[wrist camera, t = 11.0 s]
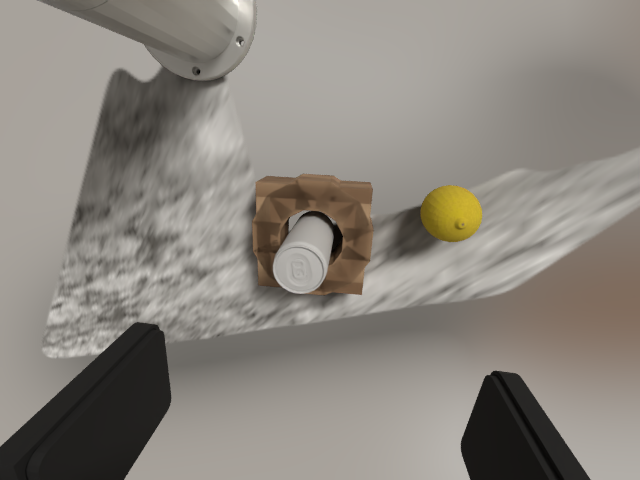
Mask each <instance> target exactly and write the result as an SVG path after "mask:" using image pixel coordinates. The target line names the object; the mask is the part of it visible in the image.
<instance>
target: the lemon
mask: <svg viewBox="0 0 640 480" xmlns="http://www.w3.org/2000/svg"><path fill="white" fill-rule="evenodd" d="M421 220H422V223H423V225H424V227H425V228H426V230H427V231H428V232H429V233H430V234H431V235H432V236H434V237H436V238H438V239H440V240H442V241H447V242H458V241H462V240H465V239H467V238H469V237H470V236H472V235H473V234H474V233H475V232H476V231H477V229H478V228H479V226H480V224H481V220H482V209H481V206H480V204H479V201H478V200H477V199H476V197H475V196H474V195H473V194H472V193H471V192H469V191H468V190H466V189H465V188H461V187H458V186H451V185H448V186H442V187H439V188H437V189H435V190H433V191H432V192H430V193H429V194H428V195H427V197H426V198H425V199H424V201H423V203H422V206H421Z"/></svg>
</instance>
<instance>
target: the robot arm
mask: <svg viewBox="0 0 640 480" xmlns="http://www.w3.org/2000/svg"><path fill="white" fill-rule="evenodd" d="M38 1H40V2H43V3H45V4H48V5H50V6H53V7H55V8H58V9H60V10H62V11H65V12H67V13H70V14H72V15H75V16H77V17H79V18H82V19H84V20H87V21H89V22H91V23H94V24H96V25H99V26H101V27H104V28H106V29H109V30H111V31H113V32H116V33H118V34H121V35H123V36H126V37H128V38H131V39H133V40H135V41H138V42H140V43H143V44H144V45H145V47H146V48H147V49H148V51H149V52H150V53H151V55H152V56H153V57H154V58H155V59H156V60H157V61H158V62H159V63H160V64H161V65H162V66H163V67H165V68H166V69H168V70H169V71H171V72H172V73H174V74H177V75H179V76H181V77H184V78H187V79H191V80H198V81H208V80H215V79H217V78H220V77H223V76H225V75H226V74H228V73H229V72H231V71H232V70H234V69H235V68H236V67H237V66H238V65H239V64H240V63H241V61H242V60H243V59H244V57H245V56H246V54H247V52H248V50H249V48H250V46H251V43H252V41H253V38H254V34H255V29H256V20H257V7H256V0H38ZM242 41H244V45H243V46H241V42H242ZM199 70H200V74H199V73H198V71H199ZM170 403H171V391H170V382H169V373H168V364H167V356H166V347H165V338H164V332H163V331H161V330H160V329H159V327H158V325H155V324H147V323H140V322H137V323H134V324H133V325H132V326H131V327H129V328H128V329H127V330H126V331H125V332H124V333H123V334H122V335H121V336H120V337H119V338H118V339H116V340H115V341H114V342H113V343H112V344H111V345H110V346H109V347H108V348H107V349H106V350H105V351H103V352H102V353H101V354H100V355H99V356H98V357H97V358H96V359H95V360H94V361H93V362H92V363H90V364H89V365H88V366H87V367H86V368H85V369H84V370H83V371H82V372H81V373H80V374H79V375H77V377H75V378H74V379H73V380H72V381H71V382H70V383H69V384H68V385H67V386H66V387H64V388H63V389H62V390H61V391H60V392H59V393H58V394H57V395H56V396H55V397H54V398H53V399H51V400H50V401H49V402H48V403H47V404H46V405H45V406H44V407H43V408H42V409H41V410H40V411H38V412H37V413H36V414H35V415H34V416H33V417H32V418H31V419H30V420H29V421H28V422H27V423H26V424H24V425H23V426H22V427H21V428H20V429H19V430H18V431H17V432H16V433H15V434H14V435H12V436H11V437H10V438H9V439H8V440H7V441H6V442H5V443H4V444H3V445H2V446H1V447H0V480H124V478H125V477H126V475H127V474H128V472H129V470H130V469H131V467H132V466H133V464H134V463H135V461H136V460H137V458H138V456H139V455H140V453H141V452H142V450H143V449H144V447H145V445H146V444H147V442H148V441H149V439H150V438H151V436H152V434H153V433H154V431H155V430H156V428H157V427H158V425H159V423H160V422H161V420H162V418H163V417H164V415H165V414H166V412H167V410H168V409H169V406H170ZM461 452H462V456H463V459H464V462H465V465H466V468H467V471H468V474H469V476H470V480H590V478H589V477H588V475H587V474H586V472H585V471H584V469H583V468H582V466H581V465H580V463H579V462H578V461H577V459H576V458H575V456H574V455H573V453H572V452H571V450H570V449H569V447H568V446H567V444H566V443H565V441H564V440H563V438H562V437H561V435H560V434H559V432H558V431H557V430H556V428H555V427H554V425H553V424H552V422H551V421H550V419H549V418H548V416H547V415H546V413H545V412H544V410H543V409H542V408H541V406H540V405H539V403H538V402H537V400H536V399H535V397H534V396H533V394H532V393H531V391H530V390H529V388H528V387H527V385H526V384H525V383H524V381H523V380H522V378H521V377H520V376H519V375H518V374H516V373H509V372H502V371H493V372H492V373H491V375H487V376H485V378H484V381H483V384H482V386H481V389H480V391H479V394H478V397H477V400H476V402H475V405H474V408H473V410H472V413H471V416H470V418H469V421H468V424H467V427H466V429H465V432H464V435H463V437H462V441H461Z"/></svg>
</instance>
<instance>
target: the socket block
mask: <svg viewBox="0 0 640 480" xmlns="http://www.w3.org/2000/svg"><path fill="white" fill-rule="evenodd" d="M372 192H373V189H372V186H371V183H370V182H356V181H341V180H339V179H338V178H336V177H335V176H330V175H313V174H302V175H300V176H298V177H296V178H289V177H274V176H266V177H264V178H263V179H261V180H259V181H257V182H256V216H255V217H254V219H253V221H252V233H253V252H254V254H255V255H256V257H257V258H258V285H260V286H271V287H282V286H281V285H280V284H278V282H277V280H276V279H275V277H274V273H273V263H274V258H275V255H276V253H277V252H278V250H279V248H280V247H281V245H282V244H283V242H284V240H285V239H286V237H287V236H288V228H289V218H290V217H291V216H292V215H295V214H297V213H299V212H301V211H303V210H310V211H321V212H323V213H324V214H326V215H327V216H329V217H330V218H332V219H334V220H335V221H336V223H337V225H338V227H339V229H340V230H341V232H342V234H343V239H342V240H341V242H340V243H339V244H338V246H337V247H336V249H334V250H332V251H331V254H330V260H329V265H328V270H327V274H326V277H325V279H324V280H323V282H322V283H321V285H320V286H319V287H318V288H317V289H315V290H314V291H312V292H309V293H305V294H316V295H326V294H328V293H331V292H336V293H347V294H358V295H362V288H363V278H364V268H365V267H366V265H367V264H368V263H369V261H370V256H371V247H372V238H373V225H372V220H371V218H370V211H371V201H372ZM282 288H283V287H282Z"/></svg>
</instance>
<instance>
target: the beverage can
mask: <svg viewBox="0 0 640 480" xmlns="http://www.w3.org/2000/svg"><path fill="white" fill-rule="evenodd" d="M333 238H334V226H333V223H332V222H331V220H330V219H329V218H328V216H327V215H325V214H324V213H322V212H319V211H309V212H307V213H305V214H303V215H302V216H301V217H300V218H299V219H298V221H297V222H296V224H295V225H294V227H293V228H292V230H291V231H290V233H289V234H288V236H287V237H286V239H285V240H284V242H283V244H282V245H281V247H280V248H279V250H278V252H277V253H276V255H275V258H274V263H273V273H274V277H275V279H276V280H277V282H278V284H280V285H281V286H282V287H283V288H284V289H286V290H287V291H289V292H292V293H296V294H305V293H309V292H312V291H314V290H315V289H317V288H318V287H319V286H320V285H321V283H322V282H323V280H324V279H325V277H326V274H327V270H328V265H329V260H330V254H331V249H332V244H333Z"/></svg>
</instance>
